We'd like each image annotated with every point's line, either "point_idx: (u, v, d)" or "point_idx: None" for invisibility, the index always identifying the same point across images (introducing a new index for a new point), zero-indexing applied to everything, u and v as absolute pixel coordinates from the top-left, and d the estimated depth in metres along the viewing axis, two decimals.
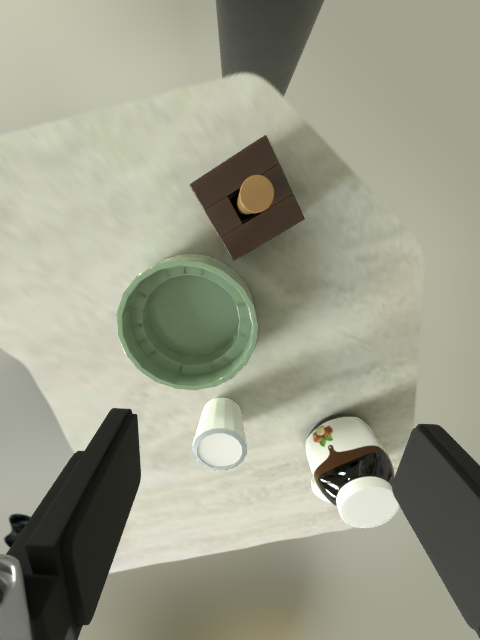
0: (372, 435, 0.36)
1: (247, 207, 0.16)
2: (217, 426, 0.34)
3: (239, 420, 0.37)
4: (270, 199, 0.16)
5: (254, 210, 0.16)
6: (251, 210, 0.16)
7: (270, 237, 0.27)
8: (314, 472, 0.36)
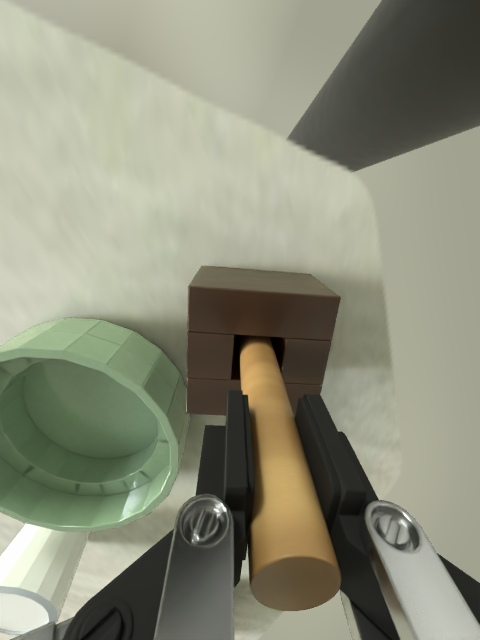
0: None
1: (256, 592, 0.06)
2: (28, 583, 0.21)
3: (74, 563, 0.25)
4: (316, 604, 0.06)
5: (267, 604, 0.06)
6: (260, 601, 0.06)
7: None
8: None
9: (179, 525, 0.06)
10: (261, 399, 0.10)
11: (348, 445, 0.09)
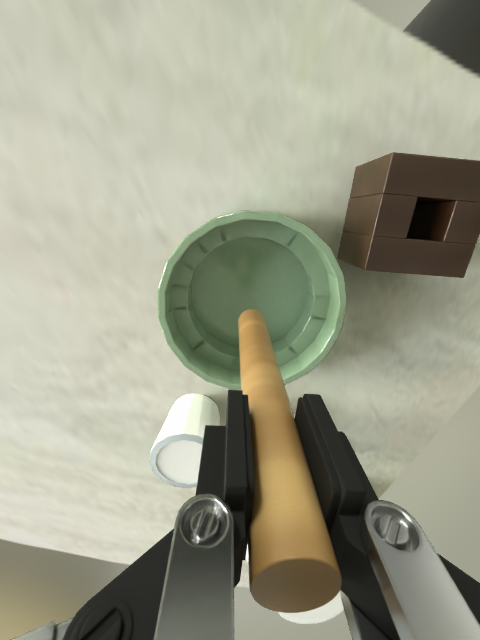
0: None
1: (256, 594, 0.06)
2: (202, 435, 0.26)
3: None
4: (316, 606, 0.06)
5: (267, 606, 0.06)
6: (260, 603, 0.06)
7: (419, 272, 0.21)
8: None
9: (179, 525, 0.06)
10: (261, 400, 0.10)
11: (348, 445, 0.09)
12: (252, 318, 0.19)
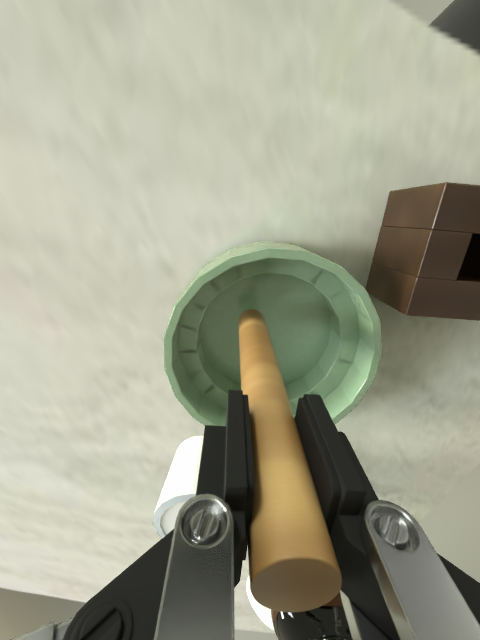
0: None
1: (256, 594, 0.06)
2: None
3: None
4: (316, 605, 0.06)
5: (267, 605, 0.06)
6: (260, 602, 0.06)
7: (468, 317, 0.18)
8: None
9: (179, 525, 0.06)
10: (261, 400, 0.10)
11: (348, 445, 0.09)
12: (252, 318, 0.19)
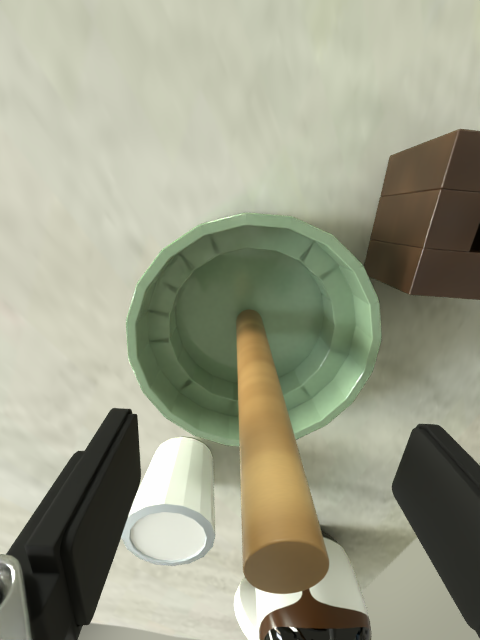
0: (360, 590, 0.26)
1: (249, 576, 0.06)
2: (190, 503, 0.20)
3: (213, 494, 0.23)
4: (305, 587, 0.07)
5: (259, 587, 0.07)
6: (253, 584, 0.07)
7: None
8: (270, 613, 0.24)
9: None
10: (256, 396, 0.11)
11: None
12: (249, 318, 0.19)
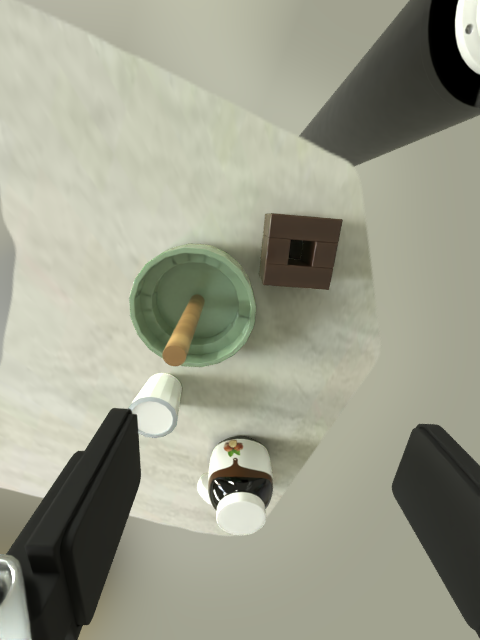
0: (270, 466, 0.43)
1: (164, 358, 0.23)
2: (163, 398, 0.37)
3: (179, 402, 0.40)
4: (180, 363, 0.24)
5: (167, 362, 0.24)
6: (165, 361, 0.24)
7: (299, 286, 0.32)
8: (212, 473, 0.41)
9: None
10: (180, 323, 0.28)
11: None
12: (194, 298, 0.36)
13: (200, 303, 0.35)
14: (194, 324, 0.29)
